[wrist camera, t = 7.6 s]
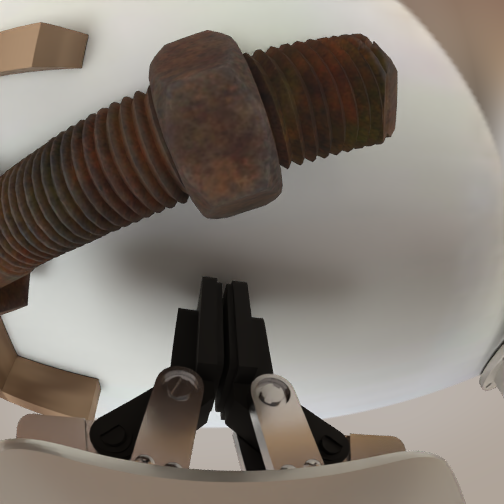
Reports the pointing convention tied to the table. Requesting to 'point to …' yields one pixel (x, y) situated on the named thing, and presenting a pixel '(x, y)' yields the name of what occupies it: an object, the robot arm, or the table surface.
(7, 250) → the bolt
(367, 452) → the robot arm
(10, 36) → the bracket
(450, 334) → the table surface
